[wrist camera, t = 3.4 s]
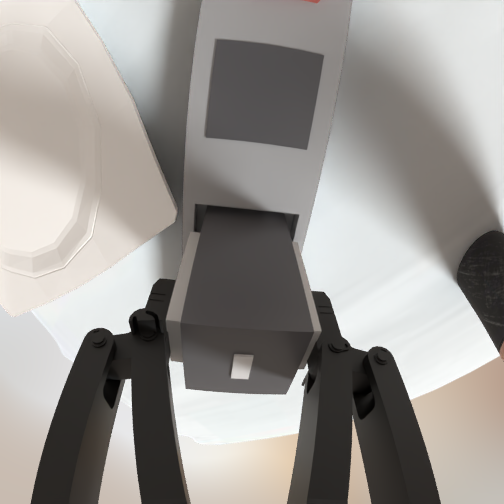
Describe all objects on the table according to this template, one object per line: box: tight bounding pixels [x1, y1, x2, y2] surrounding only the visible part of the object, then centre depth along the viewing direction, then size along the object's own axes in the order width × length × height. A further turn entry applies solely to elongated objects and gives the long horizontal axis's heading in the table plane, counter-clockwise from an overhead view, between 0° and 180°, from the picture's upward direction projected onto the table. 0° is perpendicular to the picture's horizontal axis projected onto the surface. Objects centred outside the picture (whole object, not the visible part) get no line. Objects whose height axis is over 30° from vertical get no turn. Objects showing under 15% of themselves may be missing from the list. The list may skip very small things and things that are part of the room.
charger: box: [180, 205, 314, 394], centre depth 14 cm, size 4×4×9 cm
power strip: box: [182, 0, 352, 258], centre depth 14 cm, size 30×7×3 cm, turn 173°
